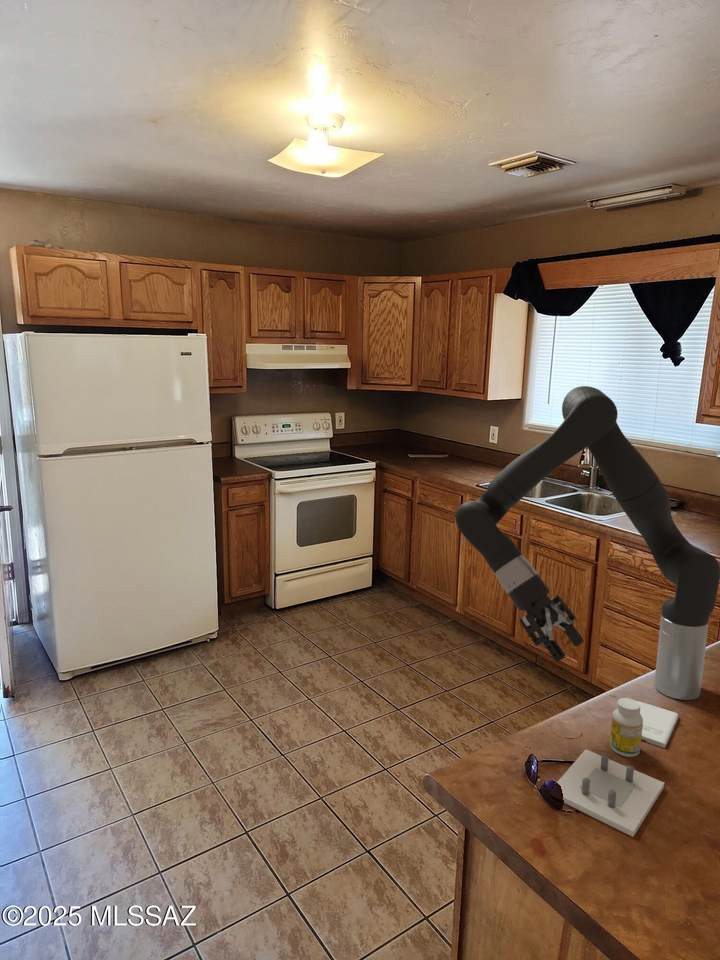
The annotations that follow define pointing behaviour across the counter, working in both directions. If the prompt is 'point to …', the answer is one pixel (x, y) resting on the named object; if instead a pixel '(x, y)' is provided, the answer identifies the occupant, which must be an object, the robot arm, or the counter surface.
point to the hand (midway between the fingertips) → (571, 651)
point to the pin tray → (609, 791)
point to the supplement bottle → (626, 728)
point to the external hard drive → (657, 724)
